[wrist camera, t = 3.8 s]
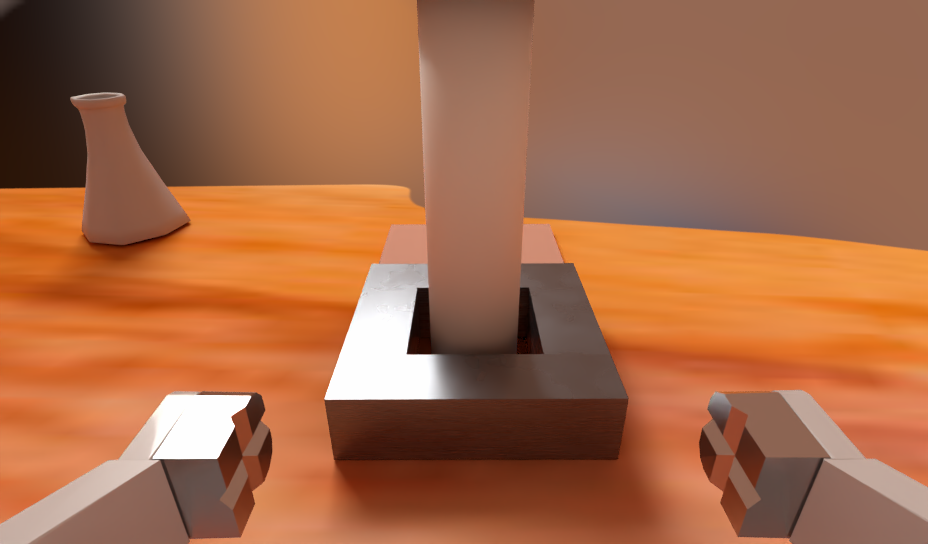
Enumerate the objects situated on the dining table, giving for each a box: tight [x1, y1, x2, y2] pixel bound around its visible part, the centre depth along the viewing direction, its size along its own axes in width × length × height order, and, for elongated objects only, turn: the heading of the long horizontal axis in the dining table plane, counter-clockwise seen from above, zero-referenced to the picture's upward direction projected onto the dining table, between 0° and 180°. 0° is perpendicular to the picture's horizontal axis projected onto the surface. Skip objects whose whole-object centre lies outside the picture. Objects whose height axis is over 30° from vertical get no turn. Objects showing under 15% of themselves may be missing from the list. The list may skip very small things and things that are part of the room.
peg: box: [417, 0, 534, 355], centre depth 21 cm, size 6×6×17 cm
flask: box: [70, 93, 191, 245], centre depth 39 cm, size 7×7×10 cm
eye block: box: [324, 263, 628, 460], centre depth 25 cm, size 11×11×3 cm
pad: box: [379, 224, 564, 264], centre depth 37 cm, size 12×8×1 cm, turn 90°
